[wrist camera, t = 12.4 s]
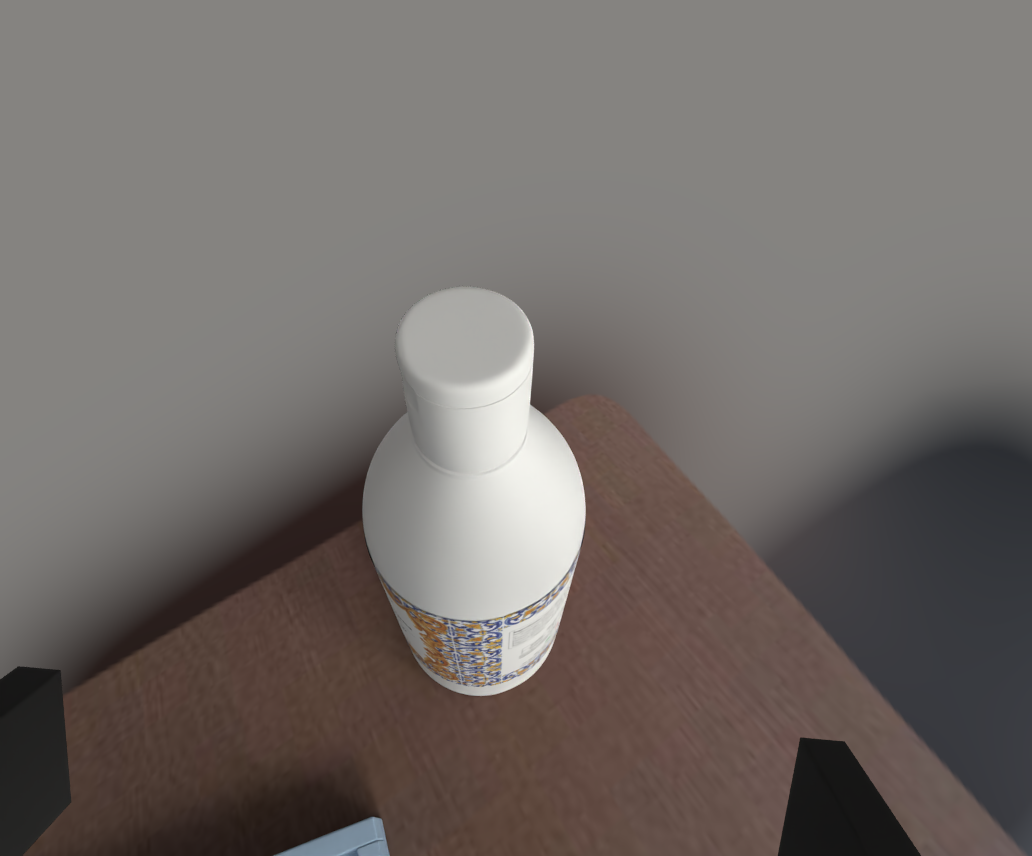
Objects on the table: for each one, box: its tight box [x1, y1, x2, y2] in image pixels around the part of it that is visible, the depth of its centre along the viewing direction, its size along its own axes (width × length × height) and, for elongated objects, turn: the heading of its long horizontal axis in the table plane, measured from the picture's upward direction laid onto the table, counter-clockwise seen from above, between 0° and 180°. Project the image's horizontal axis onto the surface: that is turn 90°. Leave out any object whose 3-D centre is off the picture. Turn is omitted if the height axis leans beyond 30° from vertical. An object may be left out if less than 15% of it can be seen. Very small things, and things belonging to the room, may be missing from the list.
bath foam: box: [362, 286, 586, 696], centre depth 22 cm, size 7×7×20 cm
